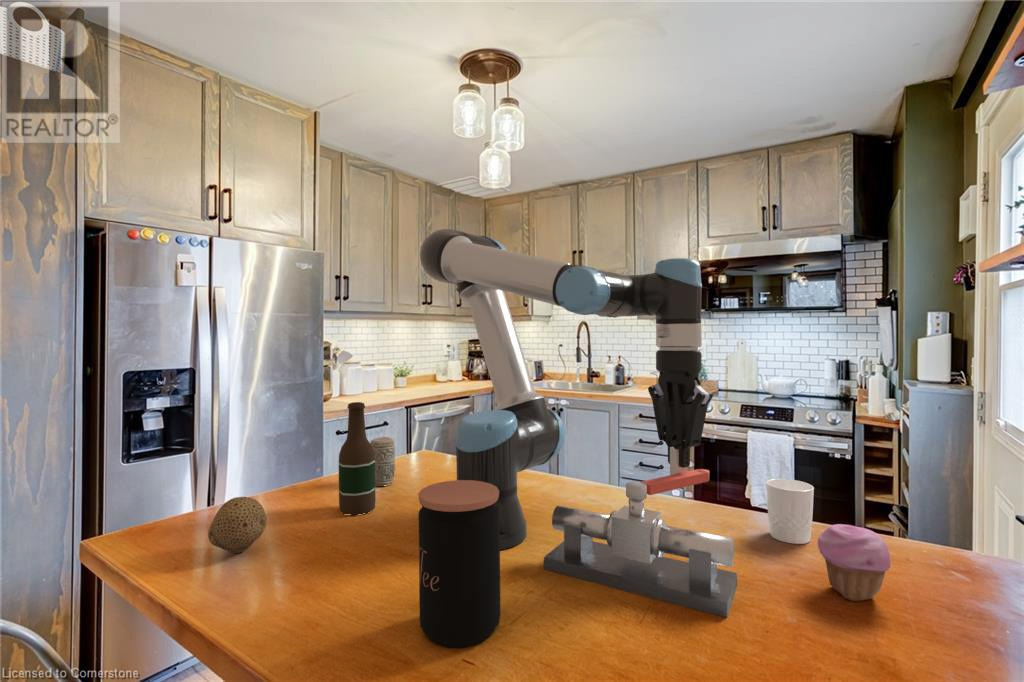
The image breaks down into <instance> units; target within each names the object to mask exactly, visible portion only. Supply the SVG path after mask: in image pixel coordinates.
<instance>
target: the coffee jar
mask: <svg viewBox="0 0 1024 682" xmlns="http://www.w3.org/2000/svg"><path fill="white" fill-rule="evenodd" d="M498 497H499V490H498V488H497V487H496V486H494V485H492V484H490V483H486V482H482V481H473V480H457V479H455V480H447V481H441V482H440V481H439V482H436V483H433V484H429V485H427V486H425V487H423V488H422V489H421V490H420V491H419V492H418V501H419V502H418V503H419V504H420V505H421V507H420V508H419V511H418V514H417V515H418V580H419V581H418V583H419V584H418V587H419V591H418V592H419V593H418V594H419V597H418V599H419V627H420V629H421V631H422V632H423V633H424V634H425V636H426V637H427V639H428V640H429V641H430V642H431V643H433V644H435V645H436V646H439V647H443V648H444V647H445V648H447V649H462V648H463V649H464V648H470V647H474V646H476V645H479V644H482V643H483V642H484V641H486V640H488V639H489V638H490V637H492V634H493V633H494V632H495V630H496V629H497V627H498V626H499V624H500V621H501V620H500V619H501V550H500V512H499V507H498V506H497V504H496V501H497V500H498Z"/></svg>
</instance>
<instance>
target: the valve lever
mask: <svg viewBox="0 0 1024 682" xmlns="http://www.w3.org/2000/svg"><path fill="white" fill-rule="evenodd" d="M708 482H710V470H709V469H706V468H705V469H704V468H697V469H694V470H688V472H683V473H679V474H674V475H670V474H669V475H666V476H661V477H660V476H659V477H657V478H652V479H648V480H642V481H639V482H638V481H630V482H627V483H625V496H626V498H628V499H629V498H630V499H637V500H640V499H644V500H646V499H647V498H648V495H649V496H653V495H657V494H661V493H666V492H671V491H675V490H678V489H682V488H687V487H691V486H695V485H699V484H702V483H708Z"/></svg>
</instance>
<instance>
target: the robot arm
mask: <svg viewBox="0 0 1024 682" xmlns="http://www.w3.org/2000/svg"><path fill="white" fill-rule="evenodd" d="M420 247H421V248H420V251H419V260H420V263H421V266H422V268H423V270H424V272H425V273H426V274H427V275H428V276H429V277H431V278H432V279H433V280H435V281H439V282H442V283H446V284H454V285H456V288H457V292H458V295H459V298H460V300H462V301H464V302H465V303H467V304H468V307H469V310H470V313H471V317H472V320H473V323H474V324H473V325H474V326H475V330H476V334H477V337H478V341H479V344H480V348H481V350H482V354H483V357H484V360H485V364H486V368H487V371H488V375H489V377H490V381H491V384H492V385H491V386H492V388H493V393H494V395H495V399H496V402H497V403H496V406H495V408H494V409H488V410H485V411H482V410H481V411H477V412H473V413H470V414H468V415H465V416H464V417H462V418H461V419H460V420H459V421H458V422H457V425H456V437H455V446H456V448H455V451H456V452H455V454H456V457H455V458H456V460H455V461H456V480H473V481H482V482H486V483H490V484H492V485H494V486H496V487H497V488H498V490H499V497H498V500H497V501H496V504H497V506H498V507H499V512H500V551H501V550H505V549H510V548H513V547H516V546H517V545H519V544H521V543H522V542H524V541H525V539H527V534H528V533H527V530H528V528H527V520H526V518H525V516H524V512H523V508H522V505H521V503H520V498H519V497H518V473H520V472H523V471H526V470H528V469H532V468H534V467H538V466H541V465H544V464H547V463H548V462H549V461H551V460H553V459H554V458H556V457H557V456H558V455H559V453H560V452H561V450H562V448H563V445H564V443H565V435H566V434H565V427H564V423H563V421H562V418H561V417H560V416H559V415H558V413H555V412H554V410H552V409H550V408H548V405H547V402H546V399H545V397H544V396H543V395H542V394H540V393H538V392H536V390H535V387H534V384H533V380H532V378H531V375H530V371H529V369H528V368H529V367H528V365H527V361H526V358H525V355H524V352H523V351H524V350H523V348H522V346H521V342H520V339H519V335H518V332H517V329H516V326H515V323H514V319H513V316H512V313H511V309H510V307H509V303H508V300H507V297H506V294H505V293H509V294H513V295H517V296H520V297H525V298H527V299H532V300H535V301H539V302H542V303H547V304H550V305H554V306H558V307H561V308H563V309H564V310H566V311H567V312H570V313H574V314H578V315H581V316H589V315H597V316H598V317H603V318H604V317H605V318H615V319H616V318H621V317H638V316H639V317H641V316H649V317H651V316H655V338H656V339H655V346H656V347H658V348H659V350H656V352H655V369H656V371H658V372H659V375H658V379H657V383H656V384H655V385H651V386H648V388H647V391H648V393H649V396H650V398H651V401H652V402H651V403H652V409H653V413H654V419H655V426H656V430H657V431H656V432H657V436H658V439H659V440H660V441H661V442H662V441H663V442H664V443H665V444H666V446H667V462H668V464H669V475H674V474H679V473H683V472H688V471H689V470H688V468H689V467H690V465H691V458H690V457H691V449H692V448H693V447H698V446H700V445H701V440H702V436H703V432H704V426H705V421H706V417H707V411H708V406H709V404H710V402H711V401H712V400H713V398H714V397H713V395H714V394H713V393H712V391H706V390H705V389H704V388H703V387H702V385H701V384H702V383H701V380H700V378H699V373H700V372H701V371H702V363H703V362H702V360H703V359H702V356H703V355H702V352H701V350H699V348H701V347H702V345H703V344H702V341H703V340H702V290H703V289H702V288H703V284H702V277H701V276H702V275H701V274H702V272H701V265H700V262H699V261H697V259H694V258H687V257H683V258H680V257H679V258H667V259H662V260H659V261H657V262H656V264H655V269H654V272H651V273H647V274H632V275H631V274H630V275H627V274H626V275H625V274H621V273H614V272H612V271H605V270H600V269H597V268H594V267H590V266H585V265H578V264H571V263H568V262H563V261H559V260H553V259H549V258H545V257H540V256H534V255H531V254H530V255H529V254H525V253H521V252H520V253H519V252H515V251H510V250H507V248H506V247H505V246H504V245H503V244H502V243H501V242H499V241H498V240H496V239H493V238H491V237H489V236H485V235H475V234H472V233H467V232H465V231H460V230H456V229H449V228H443V229H442V228H441V229H438V230H435V231H433V232H432V233H431V234H429V235H428V236H427V237H426V238H425V239H424V241H423V242H422V244H421V246H420Z"/></svg>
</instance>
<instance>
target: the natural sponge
mask: <svg viewBox="0 0 1024 682" xmlns="http://www.w3.org/2000/svg"><path fill="white" fill-rule="evenodd" d="M267 520H268V519H267V515H266V510H265V509H264V507H263V506H262V503H260V502H259V501H258V500H256V499H255V498H253V497H249V496H236V497H233V498H230V499H229V500H227V501H226V502H224V504H222V505H221V507H220V508H219V509H218V510H217V512H216V514H215V516H214V518H213V520H212V521H211V524H210V526H209V528H208V531H207V538H208V542H209V543H210V544H211V545H212V546H214V547H216V548H219V549H222V550H224V551H226V552H228V553H232V554H241V553H243V552H245V551H247V550H248V549H249V548H250V547H251V546H252V545H253V544H254V543H255V542H256V541H257V540H258V539H259V538H260V537H261V536H262V535H263V533H264V531H265V529H266V527H267V523H268V522H267ZM240 552H241V553H240Z"/></svg>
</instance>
